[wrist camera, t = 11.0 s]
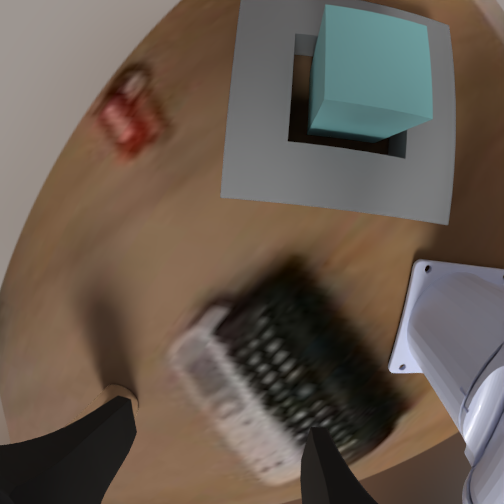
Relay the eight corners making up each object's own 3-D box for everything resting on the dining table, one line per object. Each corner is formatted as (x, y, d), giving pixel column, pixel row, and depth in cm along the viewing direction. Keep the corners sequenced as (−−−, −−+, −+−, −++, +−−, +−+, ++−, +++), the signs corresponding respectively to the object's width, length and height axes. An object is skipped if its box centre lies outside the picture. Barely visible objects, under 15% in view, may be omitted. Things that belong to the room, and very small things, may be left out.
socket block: (430, 42, 15) (449, 25, 12) (425, 218, 17) (448, 225, 15) (248, 13, 16) (242, -11, 13) (230, 195, 18) (220, 197, 15)
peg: (375, 81, 16) (426, 25, 8) (373, 143, 17) (432, 119, 9) (310, 71, 16) (325, 4, 9) (306, 134, 17) (324, 99, 9)
